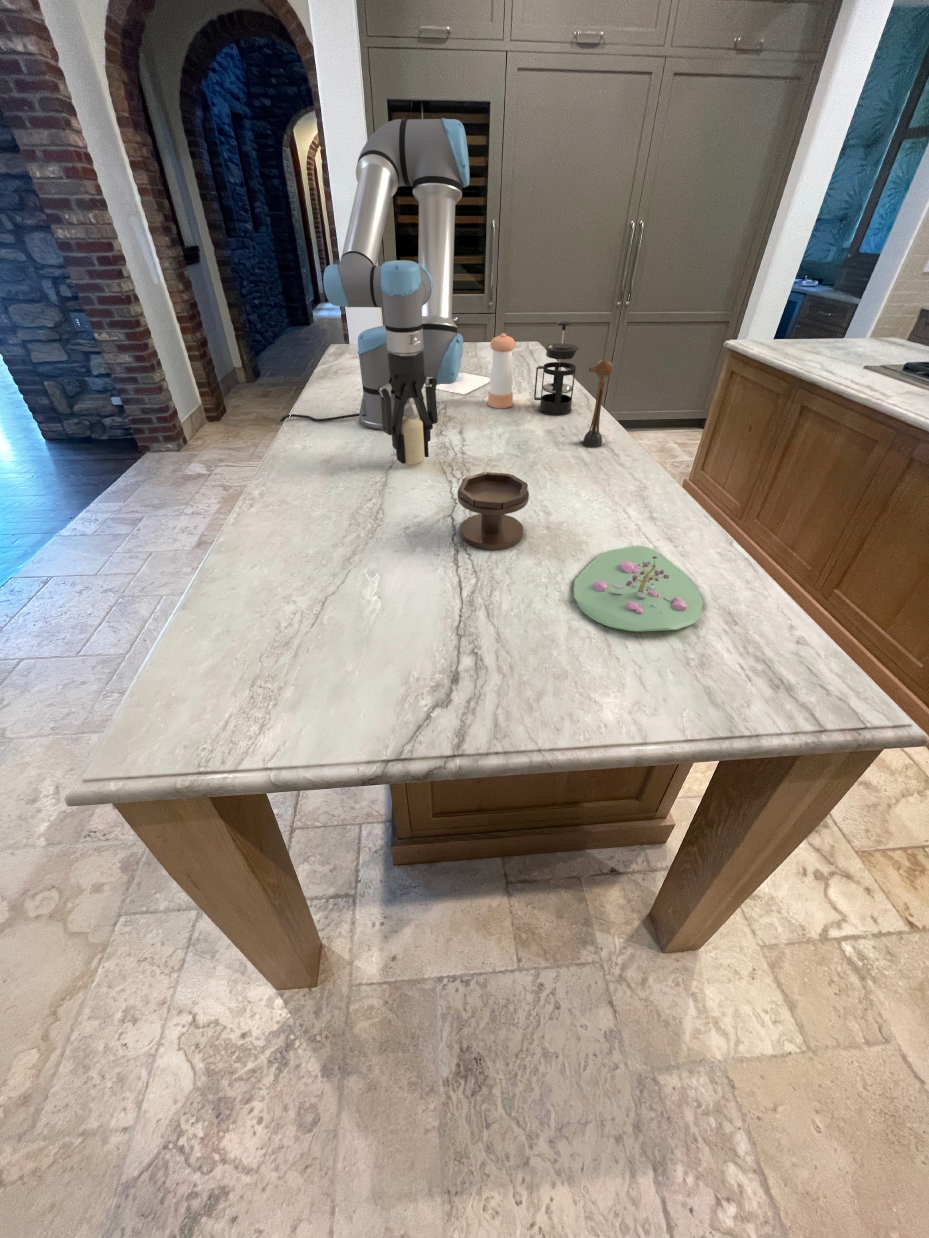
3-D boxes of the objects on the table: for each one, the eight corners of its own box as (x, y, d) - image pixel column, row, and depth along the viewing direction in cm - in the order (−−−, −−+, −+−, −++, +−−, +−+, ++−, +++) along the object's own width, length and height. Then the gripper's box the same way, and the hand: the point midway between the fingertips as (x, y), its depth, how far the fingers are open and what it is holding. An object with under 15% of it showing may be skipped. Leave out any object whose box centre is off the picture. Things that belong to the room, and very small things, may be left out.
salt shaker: (512, 400, 163) (516, 331, 151) (511, 408, 157) (516, 336, 145) (488, 400, 164) (491, 330, 151) (487, 407, 158) (489, 336, 146)
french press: (571, 405, 160) (582, 318, 145) (575, 415, 153) (586, 325, 138) (532, 404, 161) (539, 318, 146) (533, 415, 153) (541, 325, 139)
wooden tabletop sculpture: (581, 447, 135) (593, 362, 122) (576, 440, 139) (588, 357, 126) (604, 447, 135) (618, 362, 123) (599, 440, 139) (612, 356, 126)
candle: (421, 465, 123) (418, 422, 117) (398, 463, 124) (394, 420, 118) (427, 455, 127) (425, 413, 121) (405, 453, 128) (401, 411, 122)
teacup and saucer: (469, 378, 181) (469, 365, 178) (457, 384, 176) (456, 370, 173) (448, 374, 185) (448, 361, 182) (435, 380, 179) (434, 367, 177)
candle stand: (451, 547, 99) (450, 499, 92) (464, 514, 108) (464, 468, 102) (521, 555, 97) (525, 506, 90) (528, 520, 107) (532, 474, 100)
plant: (565, 546, 99) (572, 501, 93) (679, 550, 98) (692, 506, 92) (578, 635, 80) (587, 586, 74) (719, 641, 79) (739, 593, 73)
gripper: (373, 363, 104) (385, 474, 119) (453, 348, 112) (454, 454, 127) (356, 354, 109) (370, 462, 124) (434, 340, 117) (438, 443, 132)
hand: (412, 458), depth 126 cm, fingers closed on candle, 5 cm apart
